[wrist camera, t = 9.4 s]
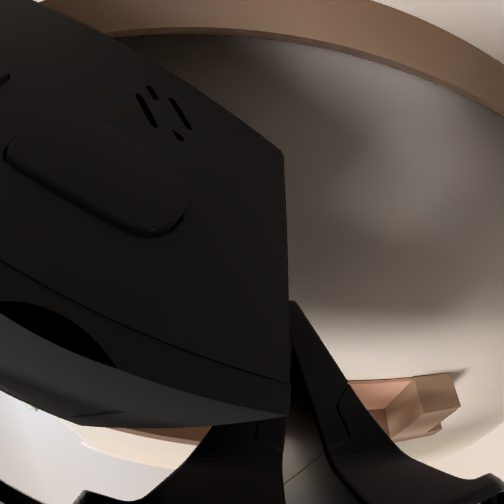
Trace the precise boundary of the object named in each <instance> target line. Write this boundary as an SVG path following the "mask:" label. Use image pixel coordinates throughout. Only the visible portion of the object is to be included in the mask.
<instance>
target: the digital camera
mask: <svg viewBox="0 0 504 504" xmlns="http://www.w3.org/2000/svg"><path fill="white" fill-rule="evenodd" d="M0 390H1V391H3V392H5V393H6V394H8V395H10V396H12V397H14V398H16V399H18V400H20V401H23V402H25V403H27V404H29V405H31V406H33V407H36V408H38V409H41V410H42V411H45V412H47V413H50V414H52V415H54V416H57V417H59V418H62V419H65V420H67V421H70V422H73V423H75V424H78V425H82V426H94V427H110V428H185V427H201V426H214V425H225V424H234V423H243V422H250V421H258V420H265V419H271V418H277V417H283V416H288V414H289V410H290V396H291V384H289V291H288V249H287V220H286V196H285V175H284V156H283V154H282V152H281V150H279V149H278V148H277V147H275V146H274V145H273V144H272V143H270V142H269V141H268V140H266V139H265V138H264V137H263V136H261V135H260V134H259V133H257V132H256V131H255V130H253V129H252V128H251V127H249V126H248V125H247V124H245V123H244V122H243V121H241V120H240V119H238V118H237V117H236V116H234V115H233V114H232V113H230V112H229V111H227V110H226V109H225V108H223V107H222V106H220V105H219V104H217V103H216V102H215V101H213V100H212V99H210V98H209V97H207V96H206V95H204V94H203V93H201V92H200V91H198V90H197V89H195V88H194V87H192V86H191V85H189V84H188V83H186V82H185V81H183V80H182V79H180V78H179V77H177V76H175V75H174V74H172V73H171V72H169V71H168V70H166V69H164V68H163V67H161V66H159V65H158V64H156V63H155V62H153V61H151V60H150V59H148V58H146V57H145V56H143V55H141V54H139V53H138V52H136V51H134V50H133V49H131V48H129V47H127V46H125V45H124V44H122V43H120V42H118V41H116V40H115V39H113V38H111V37H109V36H107V35H105V34H103V33H102V32H100V31H98V30H96V29H94V28H92V27H90V26H88V25H86V24H84V23H82V22H80V21H78V20H76V19H74V18H72V17H70V16H67V15H65V14H63V13H61V12H59V11H57V10H54V9H52V8H50V7H47V6H45V5H43V4H40V3H38V2H36V1H33V0H0Z"/></svg>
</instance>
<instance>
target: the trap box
mask: <svg viewBox="0 0 504 504" xmlns="http://www.w3.org/2000/svg"><path fill="white" fill-rule="evenodd" d="M39 3H40V4H43V5H45V6H47V7H50V8H52V9H54V10H57V11H59V12H61V13H63V14H65V15H67V16H70V17H72V18H74V19H76V20H78V21H80V22H82V23H84V24H86V25H88V26H90V27H92V28H94V29H96V30H98V31H100V32H102V33H103V34H105V35H107V36H109V37H111V38H118V37H128V36H140V35H156V34H218V35H234V36H246V37H256V38H265V39H273V40H280V41H287V42H293V43H299V44H304V45H310V46H315V47H320V48H324V49H329V50H333V51H338V52H342V53H346V54H350V55H353V56H357V57H361V58H364V59H368V60H371V61H375V62H378V63H381V64H384V65H387V66H390V67H393V68H396V69H399V70H402V71H405V72H408V73H411V74H413V75H416V76H418V77H421V78H424V79H426V80H429V81H431V82H433V83H436V84H438V85H441V86H443V87H445V88H447V89H450V90H452V91H454V92H456V93H458V94H461V95H463V96H465V97H467V98H469V99H471V100H473V101H475V102H477V103H479V104H481V105H482V106H484V107H486V108H488V109H490V110H492V111H494V112H495V113H497V114H499V115H501V116H502V117H504V65H503V64H502V63H500V62H499V61H497V60H496V59H494V58H493V57H491V56H490V55H488V54H486V53H485V52H483V51H481V50H480V49H478V48H476V47H475V46H473V45H471V44H470V43H468V42H466V41H464V40H462V39H460V38H459V37H457V36H455V35H453V34H451V33H449V32H447V31H445V30H443V29H441V28H439V27H437V26H435V25H433V24H430V23H428V22H426V21H424V20H422V19H419V18H417V17H415V16H412V15H410V14H407V13H405V12H402V11H400V10H397V9H394V8H392V7H389V6H386V5H383V4H380V3H377V2H374V1H371V0H45V1H42V2H39ZM348 384H350V385H351V387H352V388H353V390H354V392H355V393H356V395H357V396H358V397H359V399H360V400H361V402H362V403H363V405H364V406H365V407H366V409H367V410H368V411H369V413H370V414H371V415H372V416H373V418H374V419H375V420H376V421H377V423H378V424H379V425H380V426H381V427H382V429H383V430H384V431H385V432H386V433H387V435H388V436H389V437H390V438H391V440H392V441H393V442H399V441H404V440H410V439H415V438H420V437H424V436H429V435H433V434H436V433H437V432H438V431H440V430H441V429H442V427H441V423H440V422H441V421H443V420H444V419H445V418H447V417H448V416H449V415H451V414H452V413H453V412H454V411H456V410H457V409H458V408H459V407H460V406H461V405H460V402H459V399H458V396H457V393H456V390H455V387H454V384H453V381H452V378H451V375H450V373H445V374H437V375H428V376H417V377H413V378H412V379H411V378H403V379H389V380H370V381H348ZM21 402H22V403H23V404H24V405H25V406H26V407H28V408H30V409H32V410H35V411H37V410H38V408H36V407H33V406H31V405H29V404H27V403H25V402H23V401H21ZM106 428H110V427H106ZM210 428H211V426H201V427H185V428H110V429H114V430H117V431H122V432H126V433H130V434H134V435H139V436H144V437H149V438H154V439H159V440H165V441H170V442H176V443H183V444H190V445H198V444H199V443H200V442H201V440H202V439H203V438H204V436H205V435H206V433H207V432H208V431H209V429H210Z"/></svg>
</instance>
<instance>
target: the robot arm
mask: <svg viewBox="0 0 504 504" xmlns="http://www.w3.org/2000/svg"><path fill="white" fill-rule="evenodd" d="M289 384H291V396H290V410H289V414H288V416H283V417H277V418H271V419H265V420H258V421H250V422H243V423H234V424H225V425H214V426H211V428H210V429H209V431H208V432H207V433H206V435H205V436H204V438H203V439H202V440H201V442H200V443H199V444H198V446H197V447H196V448H195V450H194V451H193V452H192V453H191V455H190V456H189V457H188V458H187V459H186V460H185V461H184V462H183V463H182V464H181V465H180V466H179V467H178V468H177V469H176V470H175V471H174V472H173V473H172V474H170V475H169V476H168V477H167V478H166V479H165V480H164V481H162V482H161V483H160V484H159V485H158V486H157V487H156V488H155V489H153V490H152V491H151V492H150V493H148V494H147V495H146V496H144V497H143V498H142V499H138V500H135V501H122V500H117V499H115V498H111V497H108V496H105V495H101V494H98V493H95V492H91V491H88V490H84V491H83V492H82V493H81V494H80V495H79V496H78V498H77V499H76V500H75V501H74V503H73V504H504V482H503V481H502V480H501V479H500V478H498V477H496V476H495V475H493V474H491V473H488V474H485V475H483V476H481V477H479V478H476V479H470V480H467V479H461V478H458V477H455V476H453V475H450V474H447V473H445V472H442V471H440V470H438V469H435V468H433V467H431V466H428V465H426V464H424V463H422V462H419V461H417V460H415V459H413V458H411V457H409V456H408V455H406V454H405V453H404V452H403V451H401V450H400V449H399V448H398V447H397V445H396V444H395V443H394V442H393V441H392V440H391V438H390V437H389V436H388V435H387V433H386V432H385V431H384V430H383V429H382V427H381V426H380V425H379V424H378V423H377V421H376V420H375V419H374V418H373V416H372V415H371V414H370V413H369V411H368V410H367V409H366V407H365V406H364V405H363V403H362V402H361V400H360V399H359V397H358V396H357V395H356V393H355V392H354V390H353V388H352V387H351V385H350V384H348V381H347V379H346V378H345V376H344V375H343V373H342V371H341V370H340V368H339V367H338V365H337V364H336V362H335V361H334V359H333V358H332V356H331V354H330V353H329V351H328V350H327V348H326V347H325V345H324V344H323V342H322V341H321V339H320V337H319V336H318V334H317V333H316V331H315V330H314V328H313V327H312V325H311V324H310V322H309V321H308V319H307V318H306V316H305V314H304V313H303V311H302V310H301V308H300V307H299V305H298V304H297V302H296V301H292V300H289ZM0 504H45V503H43V502H41V501H39V500H37V499H35V498H33V497H31V496H29V495H27V494H25V493H23V492H21V491H20V490H18V489H16V488H14V487H13V486H11V485H9V484H7V483H6V482H4V481H3V480H1V479H0Z"/></svg>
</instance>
